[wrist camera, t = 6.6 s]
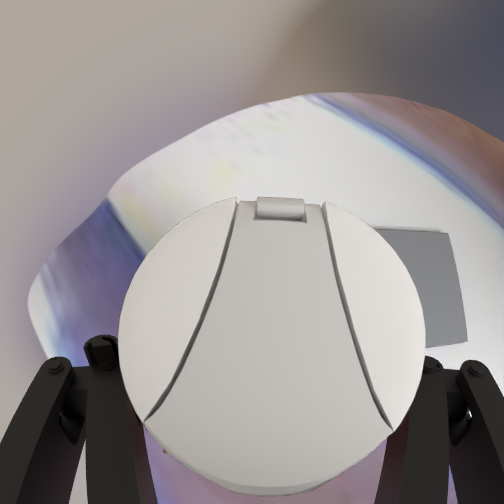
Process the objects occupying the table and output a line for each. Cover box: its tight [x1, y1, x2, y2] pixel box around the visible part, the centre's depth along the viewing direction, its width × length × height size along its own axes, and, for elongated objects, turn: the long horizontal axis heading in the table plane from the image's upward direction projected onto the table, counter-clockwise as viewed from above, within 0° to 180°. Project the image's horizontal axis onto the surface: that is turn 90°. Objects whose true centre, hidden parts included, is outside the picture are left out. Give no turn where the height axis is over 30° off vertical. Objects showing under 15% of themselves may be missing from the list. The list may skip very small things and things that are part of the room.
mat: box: [374, 229, 468, 348], centre depth 22 cm, size 10×10×1 cm
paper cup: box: [118, 197, 425, 497], centre depth 12 cm, size 8×8×14 cm
